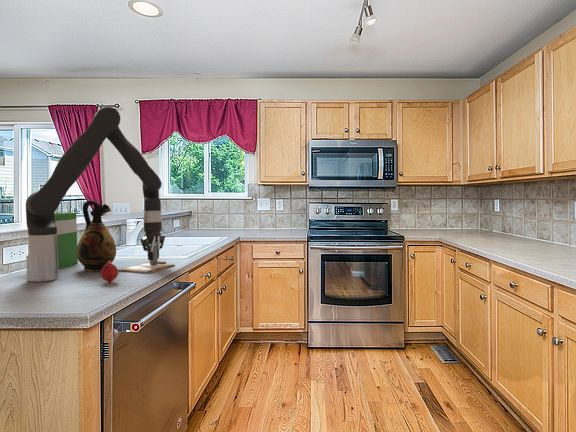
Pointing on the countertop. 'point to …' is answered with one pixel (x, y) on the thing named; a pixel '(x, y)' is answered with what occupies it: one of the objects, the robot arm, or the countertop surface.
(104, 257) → the ceramic jug
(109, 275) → the onion
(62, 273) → the countertop surface
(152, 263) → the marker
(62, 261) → the hardback book
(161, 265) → the clipboard
